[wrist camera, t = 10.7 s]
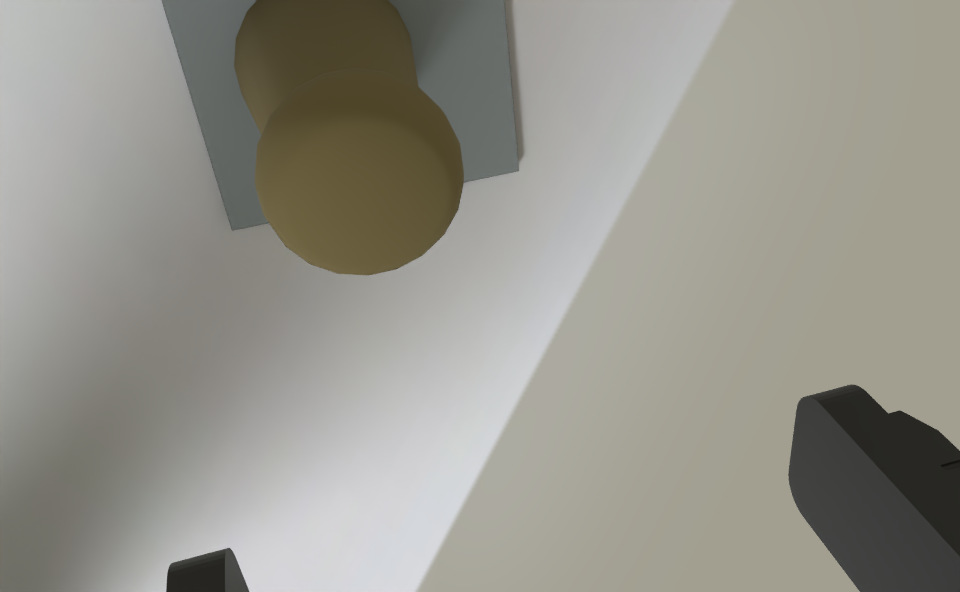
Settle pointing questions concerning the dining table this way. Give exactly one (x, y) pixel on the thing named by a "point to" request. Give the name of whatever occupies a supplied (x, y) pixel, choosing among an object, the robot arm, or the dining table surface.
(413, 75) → the cork
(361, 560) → the dining table surface
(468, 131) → the mat
